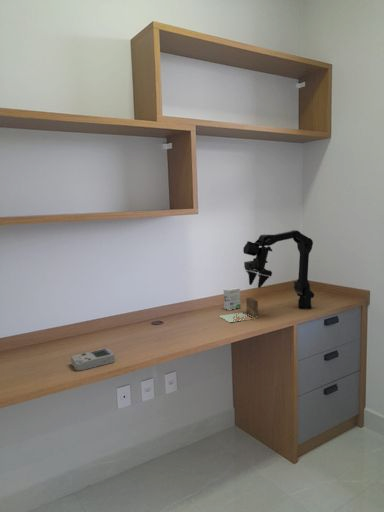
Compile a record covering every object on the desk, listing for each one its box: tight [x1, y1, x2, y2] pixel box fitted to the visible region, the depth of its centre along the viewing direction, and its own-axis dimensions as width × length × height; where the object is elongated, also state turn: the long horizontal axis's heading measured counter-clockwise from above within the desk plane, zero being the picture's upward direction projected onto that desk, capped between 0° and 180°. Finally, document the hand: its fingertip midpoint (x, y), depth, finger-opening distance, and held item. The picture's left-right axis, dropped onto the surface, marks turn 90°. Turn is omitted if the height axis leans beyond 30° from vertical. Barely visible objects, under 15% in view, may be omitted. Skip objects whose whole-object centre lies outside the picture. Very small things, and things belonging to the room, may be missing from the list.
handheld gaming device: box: [70, 348, 116, 372], centre depth 148 cm, size 9×15×4 cm, turn 121°
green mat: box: [218, 312, 247, 323], centre depth 201 cm, size 14×14×1 cm
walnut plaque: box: [245, 297, 259, 318], centre depth 204 cm, size 2×8×9 cm, turn 20°
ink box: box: [223, 287, 241, 311], centre depth 220 cm, size 8×5×12 cm, turn 121°
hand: (254, 286), depth 203 cm, fingers open, 9 cm apart
